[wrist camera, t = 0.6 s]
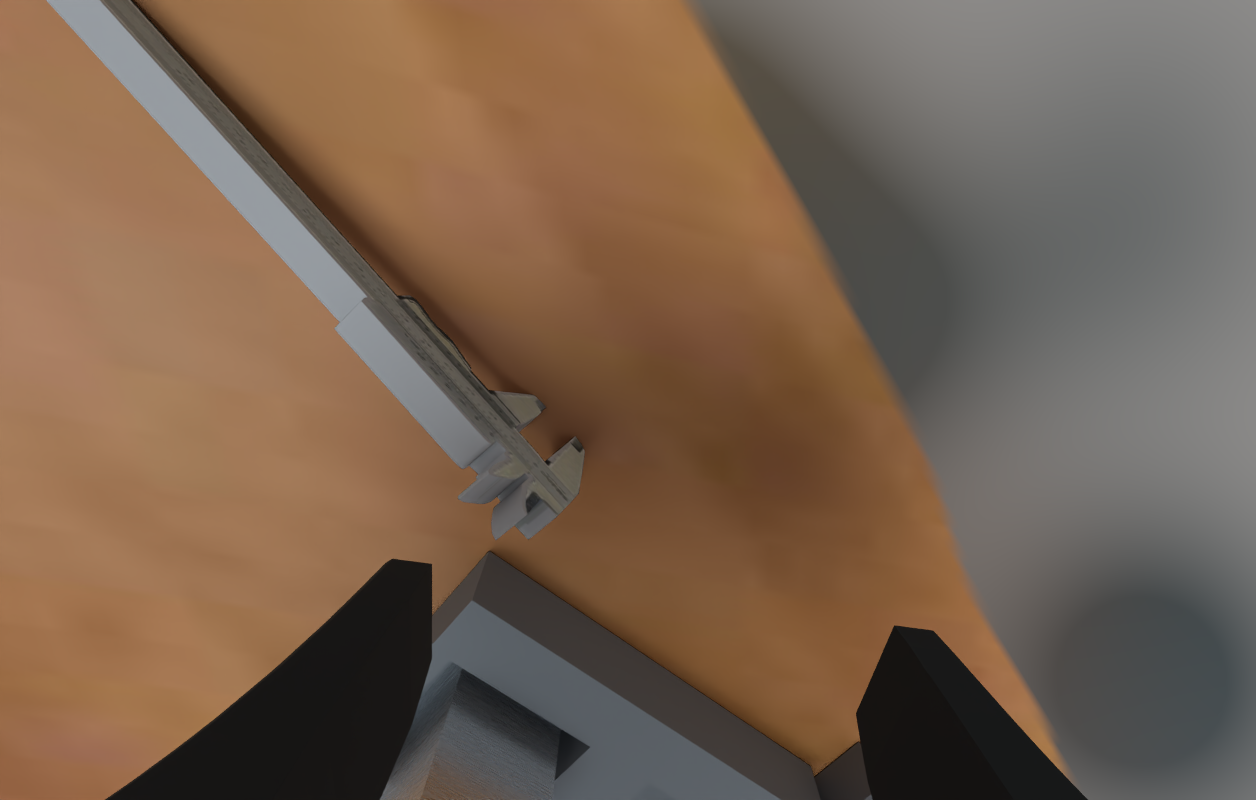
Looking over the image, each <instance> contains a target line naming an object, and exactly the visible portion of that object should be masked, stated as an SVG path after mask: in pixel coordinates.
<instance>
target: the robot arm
mask: <svg viewBox="0 0 1256 800" xmlns="http://www.w3.org/2000/svg"><path fill="white" fill-rule="evenodd" d="M431 660H432V564H428V563H420V562H413V561H405V560H398V559H391V560H390V561H388V562H387V563H385V564H384V565H383V566H382V567H381V568H380V569H379V570H378V571H377V572H376V573H375V574H374V575H373V576H372V577H371V578H370V579H369V580H368V581H367V582H366V583H365V584H364V585H363V586H362V587H361V588H360V589H359V590H358V591H357V592H356V593H355V594H354V595H353V596H352V597H351V598H350V599H349V600H348V601H347V602H346V603H345V604H344V605H343V606H342V607H341V608H340V609H339V610H338V611H337V612H336V613H335V614H334V615H333V616H332V617H331V618H330V619H329V620H328V621H327V622H325V623H324V624H323V625H322V626H321V627H320V628H319V629H318V630H317V631H316V632H315V633H314V634H312V635H311V636H310V637H309V638H308V639H307V640H306V641H305V642H304V643H303V644H302V645H300V646H299V647H298V648H297V649H296V650H295V651H294V652H293V653H292V654H291V655H289V656H288V657H287V658H286V659H285V660H284V661H283V662H282V663H281V664H280V665H278V666H277V667H276V668H275V669H274V670H273V671H272V672H270V673H269V674H268V675H267V676H266V677H264V678H263V679H262V680H261V681H260V682H258V683H257V684H256V685H255V686H254V687H252V688H251V689H250V690H249V691H248V692H246V693H245V694H244V695H243V696H242V697H241V698H239V699H238V700H237V701H236V702H235V703H233V704H232V705H231V706H230V707H229V708H227V709H226V710H225V711H224V712H223V713H221V714H220V715H219V716H218V717H216V718H215V719H214V720H213V721H211V722H210V723H209V724H208V725H206V726H205V727H204V728H202V729H201V730H200V731H199V732H197V733H196V734H195V735H194V736H192V737H191V738H190V739H188V740H187V741H186V742H184V743H183V744H182V745H180V746H179V747H178V748H177V749H175V750H174V751H173V752H171V753H170V754H168V755H167V756H166V757H164V758H163V759H162V760H160V761H159V762H158V763H156V764H155V765H154V766H152V767H151V768H149V769H148V770H147V771H145V772H144V773H143V774H141V775H140V776H139V777H137V778H136V779H134V780H133V781H131V782H130V783H129V784H127V785H126V786H124V787H123V788H121V789H120V790H119V791H117V792H116V793H114V794H113V795H111V796H110V797H108V798H107V799H105V800H380V799H381V796H382V794H383V792H384V789H385V787H386V785H387V782H388V780H389V778H390V775H391V773H392V771H393V768H394V766H395V763H396V761H397V759H398V756H399V754H400V752H401V749H402V747H403V745H404V742H405V740H406V737H407V735H408V733H409V730H410V728H411V725H412V723H413V719H414V716H415V713H416V710H417V707H418V704H419V700H420V697H421V694H422V691H423V687H424V684H425V681H426V677H427V674H428V671H429V667H430V664H431ZM856 716H857V723H858V729H859V736H860V742H861V748H862V754H863V759H864V765H865V770H866V775H867V781H868V785H869V788H870V792H871V796H872V799H873V800H1088V799H1087V798H1086V797H1085V796H1084V795H1083V794H1082V793H1081V792H1080V791H1079V790H1078V789H1077V788H1076V787H1075V786H1074V785H1073V784H1072V783H1071V782H1070V781H1069V780H1068V779H1067V778H1066V777H1065V776H1064V774H1063V773H1062V772H1061V771H1060V770H1059V769H1058V768H1057V767H1056V766H1055V765H1054V764H1053V763H1052V762H1051V761H1050V760H1049V758H1048V757H1047V756H1046V755H1045V754H1044V753H1043V752H1042V751H1041V750H1040V749H1039V748H1038V747H1037V745H1036V744H1035V743H1034V742H1033V741H1032V740H1031V739H1030V738H1029V737H1028V736H1027V735H1026V733H1025V732H1024V731H1023V730H1022V729H1021V728H1020V727H1019V726H1018V725H1017V724H1016V722H1015V721H1014V720H1013V719H1012V718H1011V717H1010V716H1009V715H1008V714H1007V712H1006V711H1005V710H1004V709H1003V708H1002V707H1001V706H1000V705H999V703H998V702H997V701H996V700H995V699H994V698H993V697H992V696H991V694H990V693H989V692H988V691H987V690H986V689H985V688H984V687H983V685H982V684H981V683H980V682H979V681H978V680H977V679H976V677H975V676H974V675H973V674H972V673H971V672H970V671H969V670H968V668H967V667H966V666H965V665H964V664H963V663H962V662H961V661H960V659H959V658H958V657H957V656H956V655H955V654H954V653H953V652H952V651H951V649H950V648H949V647H948V646H947V645H946V644H945V643H944V642H943V641H942V640H941V639H940V638H939V637H938V635H937V634H936V633H935V632H934V631H932V630H924V629H917V628H909V627H902V626H894V627H893V630H892V632H891V634H890V637H889V639H888V641H887V643H886V646H885V648H884V650H883V653H882V655H881V657H880V660H879V662H878V664H877V666H876V669H875V671H874V673H873V676H872V678H871V680H870V683H869V685H868V687H867V689H866V692H865V694H864V696H863V699H862V701H861V703H860V706H859V708H858V710H857V712H856Z"/></svg>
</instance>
